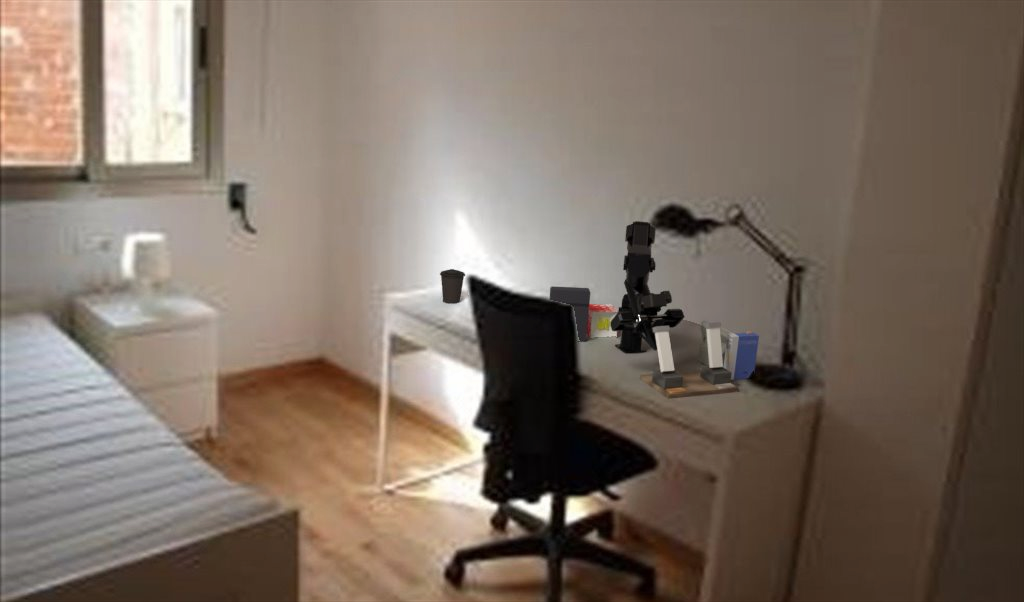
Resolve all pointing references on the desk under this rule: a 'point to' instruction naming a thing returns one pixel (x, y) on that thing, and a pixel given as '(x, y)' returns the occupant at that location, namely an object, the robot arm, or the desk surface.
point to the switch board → (691, 382)
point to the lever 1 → (664, 348)
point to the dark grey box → (575, 305)
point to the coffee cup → (452, 285)
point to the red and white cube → (600, 320)
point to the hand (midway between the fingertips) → (656, 349)
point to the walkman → (741, 354)
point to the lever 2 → (714, 344)
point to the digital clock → (704, 347)
